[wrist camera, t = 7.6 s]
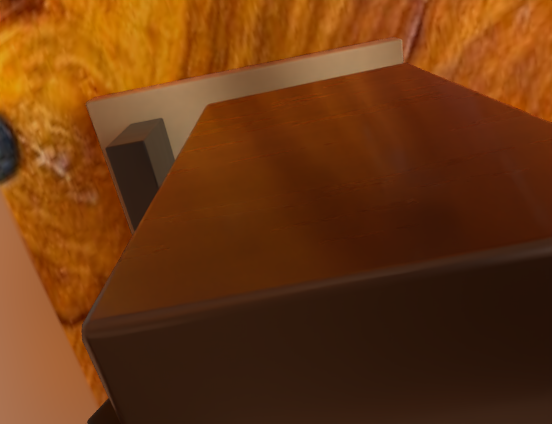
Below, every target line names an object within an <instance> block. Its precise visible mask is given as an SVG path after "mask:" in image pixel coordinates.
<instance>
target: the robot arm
mask: <svg viewBox="0 0 552 424" xmlns="http://www.w3.org/2000/svg"><path fill="white" fill-rule="evenodd" d="M87 423H88V424H121V423H120V421H119V419H118V416H117V414H116V412H115V410H114V408H113V406H112V403H111V401H110V399H108V400H107V401H106V402H105V403H104V404H103V405H102V406H101V407H100V408H99V409H98V410H97V411H96V412H95V413H94V414H93V415H92V416H91V417H90V418H89V420H88V422H87Z"/></svg>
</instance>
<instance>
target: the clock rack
mask: <svg viewBox="0 0 552 424" xmlns="http://www.w3.org/2000/svg"><path fill="white" fill-rule="evenodd" d="M401 63H404V60H403V47H402V40H401V39H398V38H395V37H391V38H386V39H381V40H376V41H371V42H366V43H361V44H356V45H351V46H346V47H341V48H336V49H331V50H327V51H322V52H317V53H312V54H307V55H302V56H297V57H292V58H287V59H282V60H277V61H272V62H267V63H262V64H257V65H252V66H247V67H242V68H237V69H232V70H227V71H223V72H218V73H213V74H208V75H203V76H198V77H193V78H188V79H183V80H178V81H173V82H168V83H163V84H158V85H153V86H148V87H143V88H138V89H133V90H128V91H123V92H119V93H114V94H109V95H104V96H99V97H95V98H93V99H91V100H89V101H88V102H86V107H87V110H88V112H89V115H90V118H91V121H92V124H93V126H94V129H95V132H96V135H97V138H98V140H99V143H100V146H101V149H102V152H103V155H104V157H105V160H106V163H107V166H108V169H109V171H110V174H111V177H112V180H113V183H114V185H115V188H116V191H117V194H118V197H119V200H120V202H121V205H122V208H123V211H124V214H125V216H126V219H127V222H128V225H129V228H130V230H131V233H132V236H133V234H134V232H135V230H136V229H137V227H138V225H139V223H140V221H141V220H142V218H143V216H144V214H145V213H146V211H147V209H148V207H149V206H150V204H151V202H152V200H153V198H154V197H155V195H156V193H157V191H158V190H159V188H160V186H161V184H162V183H163V181H164V179H165V177H166V175H167V174H168V172H169V170H170V168H171V167H172V165H173V163H174V161H175V160H176V158H177V156H178V154H179V152H180V151H181V149H182V147H183V145H184V144H185V142H186V140H187V138H188V137H189V135H190V133H191V131H192V129H193V128H194V126H195V124H196V122H197V121H198V119H199V117H200V115H201V114H202V112H203V110H204V108H205V106H206V105H208V104H211V103H215V102H220V101H225V100H230V99H235V98H239V97H244V96H249V95H254V94H258V93H263V92H268V91H273V90H277V89H282V88H287V87H292V86H296V85H301V84H306V83H311V82H315V81H320V80H325V79H330V78H335V77H339V76H344V75H349V74H354V73H358V72H363V71H368V70H373V69H377V68H382V67H387V66H392V65H396V64H401Z"/></svg>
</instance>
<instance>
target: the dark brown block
mask: <svg viewBox="0 0 552 424" xmlns="http://www.w3.org/2000/svg"><path fill="white" fill-rule="evenodd" d="M82 341H83V343H84V345H85V347H86V349H87V352H88V354H89V356H90V358H91V360H92V362H93V365H94V367H95V369H96V371H97V373H98V375H99V378H100V380H101V382H102V384H103V386H104V388H105V391H106V393H107V395H108V397H109V399H110V401H111V403H112V406H113V408H114V410H115V412H116V414H117V416H118V419H119V421H120V423H121V424H552V123H551V122H549V121H546V120H544V119H542V118H539V117H537V116H534V115H532V114H529V113H527V112H524V111H522V110H520V109H517V108H515V107H512V106H510V105H507V104H505V103H503V102H500V101H498V100H495V99H493V98H490V97H488V96H486V95H483V94H481V93H478V92H476V91H473V90H471V89H468V88H466V87H464V86H461V85H459V84H456V83H454V82H451V81H449V80H447V79H444V78H442V77H439V76H437V75H434V74H432V73H430V72H427V71H425V70H422V69H420V68H417V67H415V66H412V65H410V64H407V63H401V64H396V65H392V66H387V67H382V68H377V69H373V70H368V71H363V72H358V73H354V74H349V75H344V76H339V77H335V78H330V79H325V80H320V81H315V82H311V83H306V84H301V85H296V86H292V87H287V88H282V89H277V90H273V91H268V92H263V93H258V94H254V95H249V96H244V97H239V98H235V99H230V100H225V101H220V102H215V103H211V104H208V105H206V106H205V108H204V110H203V112H202V114H201V115H200V117H199V119H198V121H197V122H196V124H195V126H194V128H193V129H192V131H191V133H190V135H189V137H188V138H187V140H186V142H185V144H184V145H183V147H182V149H181V151H180V152H179V154H178V156H177V158H176V160H175V161H174V163H173V165H172V167H171V168H170V170H169V172H168V174H167V175H166V177H165V179H164V181H163V183H162V184H161V186H160V188H159V190H158V191H157V193H156V195H155V197H154V198H153V200H152V202H151V204H150V206H149V207H148V209H147V211H146V213H145V214H144V216H143V218H142V220H141V221H140V223H139V225H138V227H137V229H136V230H135V232H134V234H133V236H132V237H131V239H130V241H129V243H128V244H127V246H126V248H125V250H124V252H123V253H122V255H121V257H120V259H119V260H118V262H117V264H116V266H115V267H114V269H113V271H112V273H111V275H110V276H109V278H108V280H107V282H106V283H105V285H104V287H103V289H102V290H101V292H100V294H99V296H98V298H97V299H96V301H95V303H94V305H93V306H92V308H91V310H90V312H89V313H88V315H87V317H86V319H85V321H84V322H83V324H82Z"/></svg>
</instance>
